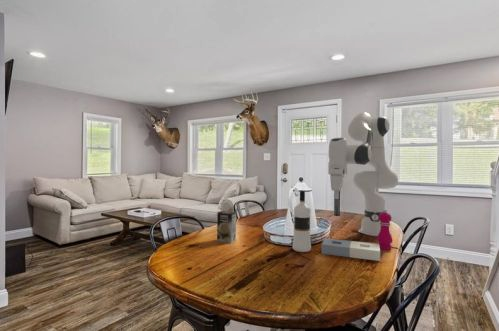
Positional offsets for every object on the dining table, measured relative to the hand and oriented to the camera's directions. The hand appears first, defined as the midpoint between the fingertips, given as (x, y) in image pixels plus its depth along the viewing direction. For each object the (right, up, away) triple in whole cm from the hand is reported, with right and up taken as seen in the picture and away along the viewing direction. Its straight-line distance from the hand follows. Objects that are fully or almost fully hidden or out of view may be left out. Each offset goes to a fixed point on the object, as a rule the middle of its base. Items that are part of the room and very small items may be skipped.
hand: (337, 198), depth 141 cm
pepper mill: (+27, -27, +7) cm, 38 cm away
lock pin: (0, -9, 0) cm, 9 cm away
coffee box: (-56, -26, +18) cm, 65 cm away
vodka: (-17, -27, +3) cm, 32 cm away
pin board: (+6, -27, -2) cm, 27 cm away
